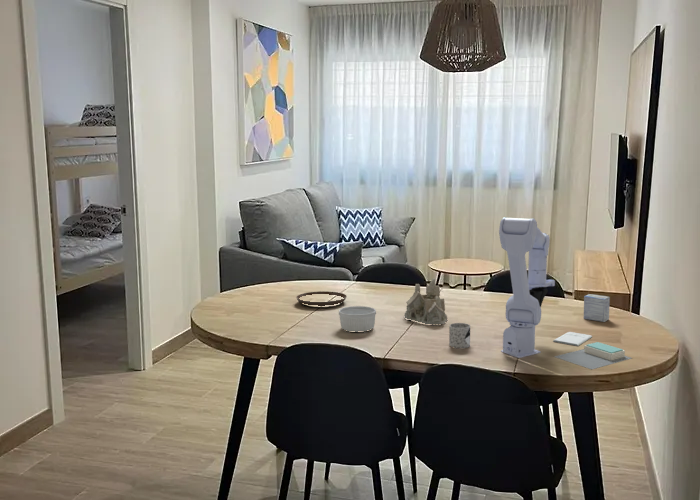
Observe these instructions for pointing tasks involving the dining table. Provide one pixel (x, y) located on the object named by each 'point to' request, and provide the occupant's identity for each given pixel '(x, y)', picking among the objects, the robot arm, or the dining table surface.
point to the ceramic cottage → (426, 305)
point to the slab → (604, 351)
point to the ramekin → (357, 318)
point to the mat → (588, 359)
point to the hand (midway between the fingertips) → (536, 309)
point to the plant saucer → (322, 302)
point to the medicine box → (596, 307)
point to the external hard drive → (572, 338)
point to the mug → (459, 335)
